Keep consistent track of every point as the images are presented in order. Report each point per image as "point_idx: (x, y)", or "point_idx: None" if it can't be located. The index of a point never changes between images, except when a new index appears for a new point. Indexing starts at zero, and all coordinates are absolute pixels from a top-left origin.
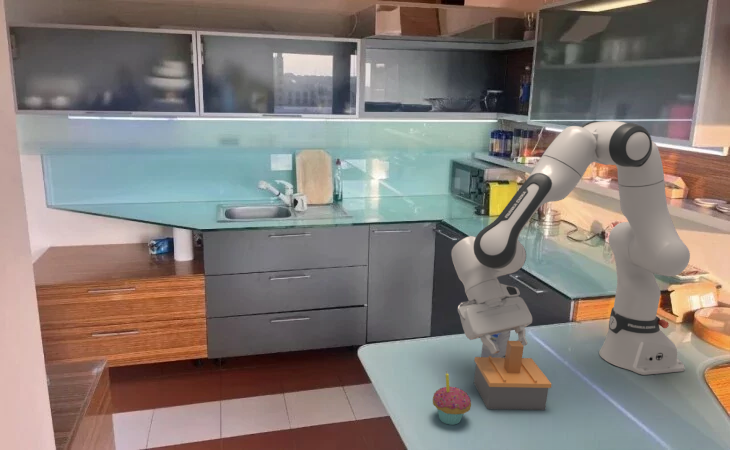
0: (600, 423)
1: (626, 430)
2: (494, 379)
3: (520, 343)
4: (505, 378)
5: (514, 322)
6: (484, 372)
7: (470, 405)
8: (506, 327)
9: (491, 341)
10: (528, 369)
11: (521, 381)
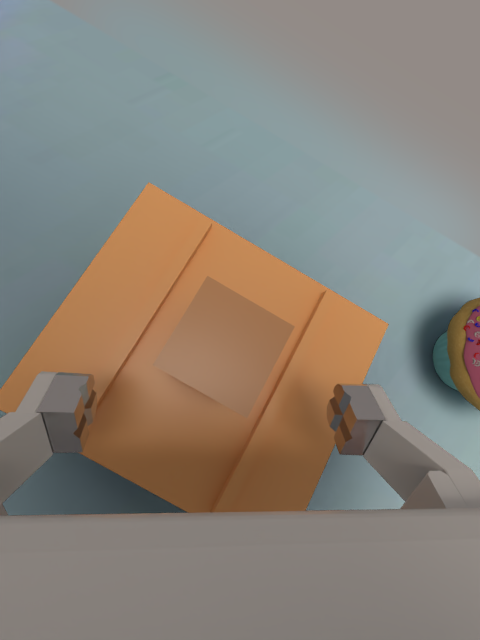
0: (69, 112)
1: (33, 53)
2: (350, 335)
3: (185, 325)
4: (320, 302)
5: (28, 569)
6: None
7: (469, 306)
8: (223, 518)
9: (416, 444)
10: (147, 305)
11: (254, 264)
